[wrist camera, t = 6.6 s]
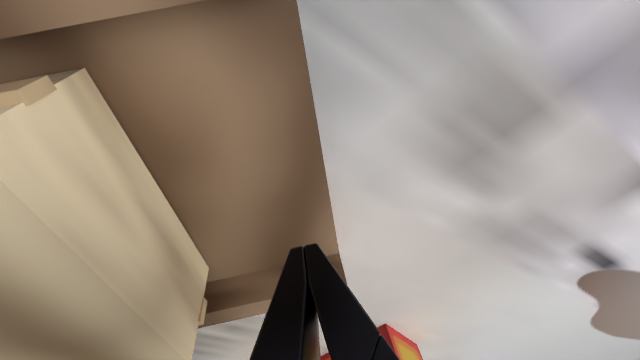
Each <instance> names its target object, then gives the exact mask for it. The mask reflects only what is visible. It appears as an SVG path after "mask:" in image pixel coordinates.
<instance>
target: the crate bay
mask: <svg viewBox="0 0 640 360" xmlns="http://www.w3.org/2000/svg"><path fill="white" fill-rule="evenodd" d="M81 68H85V69H86V71H87V72H88V74H89V76H90V77H91V79H92V80H93V82H94V84H95V85H96V87H97V88H98V90H99V92H100V93H101V95H102V97H103V98H104V100H105V101H106V103H107V105H108V106H109V108H110V109H111V111H112V113H113V114H114V116H115V117H116V119H117V121H118V122H119V124H120V126H121V127H122V129H123V130H124V132H125V134H126V135H127V137H128V138H129V140H130V142H131V143H132V145H133V146H134V148H135V150H136V151H137V153H138V154H139V156H140V158H141V159H142V161H143V163H144V164H145V166H146V167H147V169H148V171H149V172H150V174H151V175H152V177H153V179H154V180H155V182H156V183H157V185H158V187H159V188H160V190H161V192H162V193H163V195H164V196H165V198H166V200H167V201H168V203H169V204H170V206H171V208H172V209H173V211H174V212H175V214H176V216H177V217H178V219H179V221H180V222H181V224H182V225H183V227H184V229H185V230H186V232H187V233H188V235H189V237H190V238H191V240H192V241H193V243H194V245H195V246H196V248H197V250H198V251H199V253H200V254H201V256H202V258H203V259H204V261H205V262H206V264H207V266H208V267H209V271H208V276H207V281H206V287H205V292H204V298H205V299H206V300H207V307H206V313H205V319H204V324H203V325H199V326H198V328H201V327H206V326H210V325H215V324H219V323H224V322H228V321H232V320H237V319H241V318H246V317H250V316H255V315H259V314H263V313H267V311H268V308H269V305H270V302H271V300H272V297H273V294H274V292H275V289H276V286H277V283H278V281H279V278H280V275H281V272H282V270H283V267H284V264H285V262H286V259H287V256H288V253H289V251H290V249H291V248H294V247H299V246H303V247H304V246H305V245H308V244H313V243H317V244H318V245H319V246H320V248H321V249H322V250H323V252H324V253H325V255H326V256H327V258H328V259H329V260H330V262H331V263H332V265H333V266H334V268H335V269H336V270H337V272H338V273H339V275H340V276H341V277H342V279H343V280H344V282H345V283H346V285H347V282H346V278H345V274H344V270H343V267H342V263H341V259H340V255H339V250H338V244H337V238H336V232H335V226H334V220H333V214H332V208H331V202H330V197H329V191H328V185H327V179H326V173H325V167H324V161H323V155H322V149H321V143H320V137H319V131H318V125H317V120H316V114H315V108H314V102H313V96H312V90H311V84H310V78H309V72H308V66H307V60H306V54H305V48H304V43H303V37H302V31H301V25H300V19H299V13H298V7H297V1H296V0H0V84H3V83H9V82H14V81H19V80H24V79H29V78H34V77H40V76H45V75H50V74H55V73H60V72H65V71H70V70H76V69H81Z"/></svg>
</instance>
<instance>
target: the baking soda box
mask: <svg viewBox="0 0 640 360" xmlns="http://www.w3.org/2000/svg"><path fill="white" fill-rule="evenodd" d="M377 329H378V330H379V331H380V335H382V336H383V337H384V338H385V340H386V341H387V343H388V344H389V345H390V347H391V348H392V349H393V351H394V352H395V353H396V355H397V356H398V357H399V359H400V360H423V359H422V356H421V354H420V351H419V349H418V346H417V344H415V343H414V342H412V341H411V340H409V339H408V338H406V337H405V336H403V335H402V334H400V333H399V332H397V331H396V330H394V329H393V328H391V327H390V326H389V325H387V324H384V325H382V326H380V327H378V328H377ZM320 360H331V358H330V355H329V353H327V354H325V355H323V356H321V357H320Z"/></svg>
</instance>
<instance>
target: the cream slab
mask: <svg viewBox="0 0 640 360" xmlns="http://www.w3.org/2000/svg"><path fill="white" fill-rule="evenodd" d="M208 271H209V267H208V266H207V264H206V262H205V261H204V259H203V258H202V256H201V254H200V253H199V251H198V250H197V248H196V246H195V245H194V243H193V241H192V240H191V238H190V237H189V235H188V233H187V232H186V230H185V229H184V227H183V225H182V224H181V222H180V221H179V219H178V217H177V216H176V214H175V212H174V211H173V209H172V208H171V206H170V204H169V203H168V201H167V200H166V198H165V196H164V195H163V193H162V192H161V190H160V188H159V187H158V185H157V183H156V182H155V180H154V179H153V177H152V175H151V174H150V172H149V171H148V169H147V167H146V166H145V164H144V163H143V161H142V159H141V158H140V156H139V154H138V153H137V151H136V150H135V148H134V146H133V145H132V143H131V142H130V140H129V138H128V137H127V135H126V134H125V132H124V130H123V129H122V127H121V126H120V124H119V122H118V121H117V119H116V117H115V116H114V114H113V113H112V111H111V109H110V108H109V106H108V105H107V103H106V101H105V100H104V98H103V97H102V95H101V93H100V92H99V90H98V88H97V87H96V85H95V84H94V82H93V80H92V79H91V77H90V76H89V74H88V72H87V71H86V69H85V68H81V69H76V70H70V71H65V72H60V73H55V74H50V75H45V76H40V77H34V78H29V79H24V80H19V81H14V82H9V83H3V84H0V360H192V356H193V351H194V346H195V340H196V335H197V330H198V326H199V325H203V324H204V319H205V313H206V307H207V300H206V299H205V298H204V292H205V287H206V281H207V276H208Z"/></svg>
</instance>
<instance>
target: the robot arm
mask: <svg viewBox="0 0 640 360" xmlns="http://www.w3.org/2000/svg"><path fill="white" fill-rule="evenodd" d="M317 314H318V315H317ZM318 318H319V321H320V324H321V328H322V331H323V334H324V338H325V341H326V344H327V348H328V351H329V355H330V358H331V360H400V359H399V357H398V356H397V355H396V353H395V352H394V351H393V349H392V348H391V347H390V345H389V344H388V343H387V341H386V340H385V338H384V337H383V336H382V335H380V331H379V330H378V329H377V327H376V326H375V324H374V323H373V321H372V320H371V319H370V317H369V316H368V314H367V313H366V312H365V310H364V309H363V307H362V306H361V304H360V303H359V302H358V300H357V299H356V297H355V296H354V294H353V293H352V292H351V290H350V289H349V287H348V286H347V285H346V283H345V282H344V280H343V279H342V277H341V276H340V275H339V273H338V272H337V270H336V269H335V268H334V266H333V265H332V263H331V262H330V260H329V259H328V258H327V256H326V255H325V253H324V252H323V250H322V249H321V248H320V246H319V245H318V244H317V243H313V244H308V245H305V246H304V247H303V246H299V247H294V248H291V249H290V251H289V253H288V256H287V259H286V262H285V264H284V267H283V270H282V272H281V275H280V278H279V281H278V283H277V286H276V289H275V292H274V294H273V297H272V300H271V302H270V305H269V308H268V311H267V313H266V316H265V319H264V322H263V324H262V327H261V330H260V332H259V335H258V338H257V341H256V343H255V346H254V349H253V352H252V354H251V357H250V360H320V345H319V327H318Z"/></svg>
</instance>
